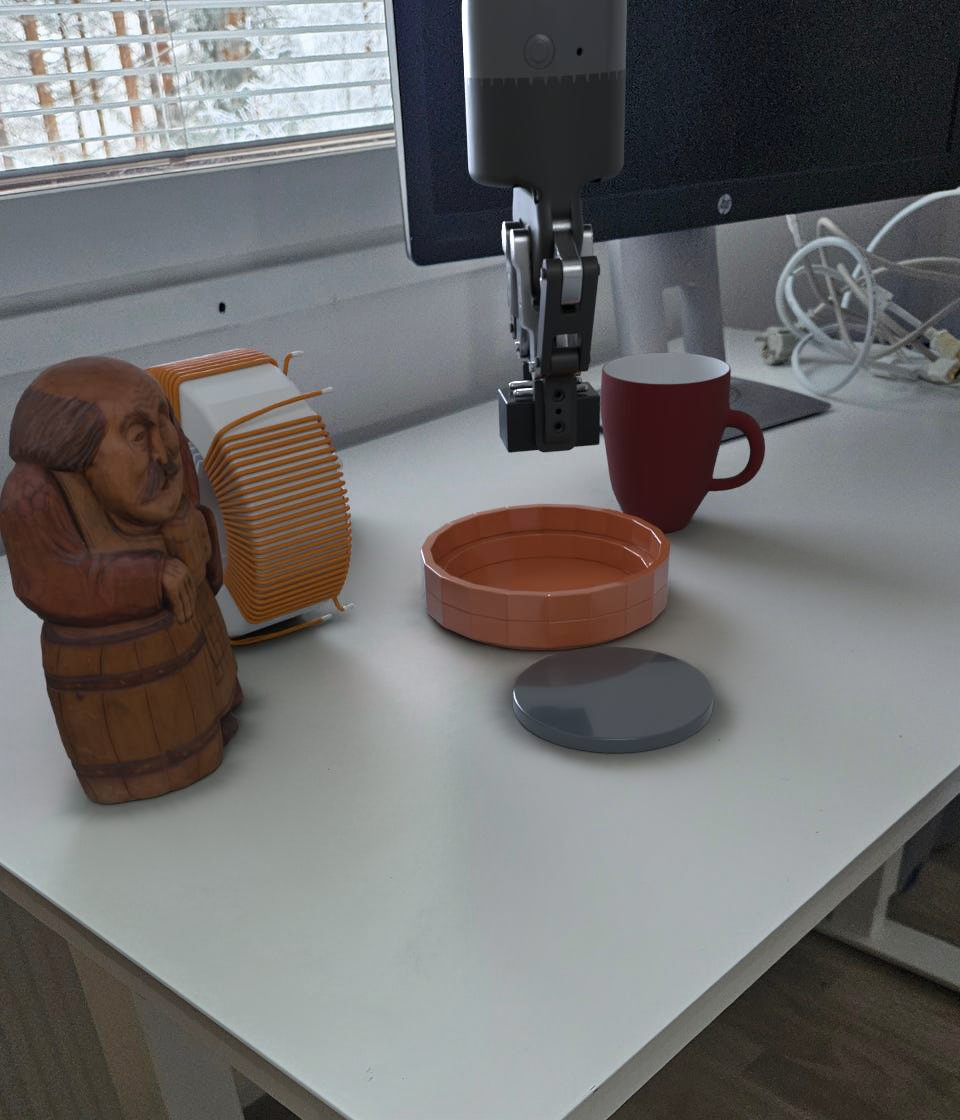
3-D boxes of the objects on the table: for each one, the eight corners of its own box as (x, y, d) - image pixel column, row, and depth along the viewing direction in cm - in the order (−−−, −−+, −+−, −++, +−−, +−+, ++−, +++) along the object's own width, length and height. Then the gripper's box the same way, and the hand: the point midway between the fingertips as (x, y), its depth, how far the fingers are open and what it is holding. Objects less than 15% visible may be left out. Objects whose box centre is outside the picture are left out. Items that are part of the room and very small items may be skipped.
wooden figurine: (194, 815, 55) (111, 399, 45) (58, 809, 56) (-54, 399, 45) (265, 692, 65) (210, 326, 54) (148, 688, 65) (72, 327, 55)
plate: (681, 651, 67) (682, 638, 66) (738, 742, 59) (740, 727, 58) (498, 669, 66) (498, 655, 65) (531, 763, 58) (531, 748, 57)
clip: (588, 429, 69) (588, 372, 67) (599, 445, 66) (600, 386, 64) (499, 437, 68) (497, 379, 66) (508, 453, 66) (506, 394, 64)
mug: (754, 504, 85) (768, 352, 80) (759, 547, 79) (776, 384, 73) (601, 501, 87) (604, 352, 81) (594, 543, 80) (597, 384, 74)
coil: (274, 683, 65) (233, 393, 57) (140, 601, 75) (88, 343, 66) (379, 643, 69) (355, 365, 60) (238, 570, 78) (201, 321, 70)
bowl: (633, 549, 79) (636, 495, 77) (696, 642, 68) (700, 582, 66) (413, 568, 78) (410, 513, 76) (439, 666, 66) (435, 606, 64)
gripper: (662, 66, 52) (648, 474, 62) (591, 54, 63) (589, 400, 73) (486, 76, 51) (500, 487, 61) (447, 63, 63) (464, 410, 73)
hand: (548, 438), depth 67 cm, fingers closed on clip, 3 cm apart
